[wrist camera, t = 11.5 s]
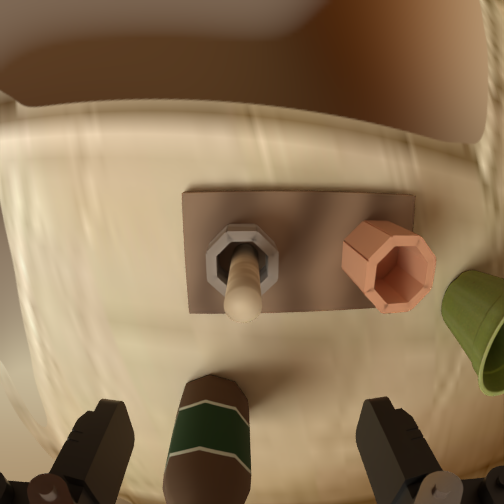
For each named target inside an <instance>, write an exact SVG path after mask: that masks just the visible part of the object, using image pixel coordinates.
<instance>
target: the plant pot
mask: <svg viewBox="0 0 504 504" xmlns="http://www.w3.org/2000/svg"><path fill="white" fill-rule="evenodd" d="M441 312H442V316H443V319H444V321H445V323H446V325H447V326H448V328H449V329H450V330H451V332H452V333H453V335H454V336H455V338H456V339H457V341H458V342H459V344H460V345H461V347H462V348H463V350H464V351H465V353H466V354H467V356H468V357H469V359H470V360H471V362H472V366H473V368H474V370H475V372H476V374H477V375H478V383H479V387H480V389H481V391H482V392H483V393H484V394H485V395H488V396H497V395H501V394H504V279H503V278H499V277H496V276H493V275H489V274H486V273H482V272H479V271H475V270H470V271H466V272H463V273H462V274H460V276H459V277H458V278H457V279H456V280H455V281H453V282H452V283H451V284H450V285H449V287H448V289H447V291H446V293H445V295H444V298H443V301H442V309H441Z"/></svg>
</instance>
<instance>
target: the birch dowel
mask: <svg viewBox="0 0 504 504" xmlns="http://www.w3.org/2000/svg"><path fill="white" fill-rule="evenodd" d="M224 310H225V313H226V315H227V316H228V317H229V318H230V319H232V320H233V321H235V322H239V323H247V322H251V321H253V320H255V319H256V318H257V317H258V316H259V315H260V313H261V310H262V299H261V287H260V275H259V263H258V253H257V250H256V249H255V247H254V246H252V245H250V244H246V243H244V244H240V245H238V246H237V247H236V248H235V249H234V251H233V254H232V259H231V265H230V271H229V276H228V282H227V288H226V294H225V300H224Z"/></svg>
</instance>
